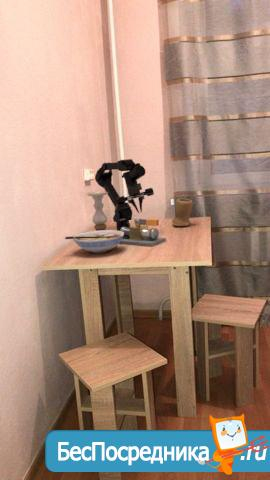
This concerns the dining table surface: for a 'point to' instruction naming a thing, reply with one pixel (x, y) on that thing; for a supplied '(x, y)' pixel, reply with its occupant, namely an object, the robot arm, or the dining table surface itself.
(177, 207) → the stone cup
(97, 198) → the candle holder
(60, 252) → the dining table surface
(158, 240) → the valve assembly
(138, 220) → the valve lever
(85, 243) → the ramen bowl
